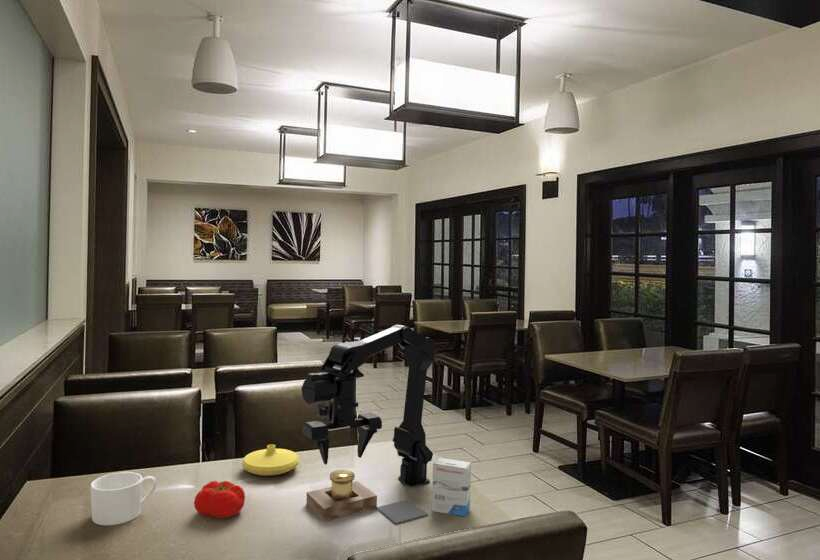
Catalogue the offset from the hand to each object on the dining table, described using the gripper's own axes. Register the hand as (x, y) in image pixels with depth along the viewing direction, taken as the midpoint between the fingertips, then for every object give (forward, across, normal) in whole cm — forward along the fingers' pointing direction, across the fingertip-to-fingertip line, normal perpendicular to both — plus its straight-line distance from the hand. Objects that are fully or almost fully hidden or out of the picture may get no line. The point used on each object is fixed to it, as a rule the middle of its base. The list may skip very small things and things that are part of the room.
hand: (342, 460), depth 136 cm
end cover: (+11, 0, 0) cm, 11 cm away
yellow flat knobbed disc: (+12, +7, -30) cm, 33 cm away
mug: (+11, +45, -21) cm, 51 cm away
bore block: (+11, 0, 0) cm, 11 cm away
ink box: (+12, -22, +15) cm, 29 cm away
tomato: (+11, +26, -11) cm, 30 cm away
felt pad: (+11, -11, +10) cm, 19 cm away
